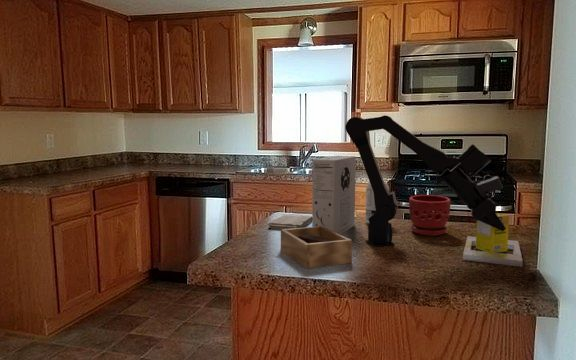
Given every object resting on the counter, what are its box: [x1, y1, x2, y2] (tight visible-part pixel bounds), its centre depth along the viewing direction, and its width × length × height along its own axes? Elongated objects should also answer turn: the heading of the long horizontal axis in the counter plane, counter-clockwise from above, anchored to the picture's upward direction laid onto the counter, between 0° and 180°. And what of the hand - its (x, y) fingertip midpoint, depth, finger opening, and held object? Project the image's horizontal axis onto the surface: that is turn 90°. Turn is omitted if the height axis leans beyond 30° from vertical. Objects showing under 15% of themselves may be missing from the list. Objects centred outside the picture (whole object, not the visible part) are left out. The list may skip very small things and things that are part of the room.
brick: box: [298, 234, 332, 244], centre depth 124 cm, size 11×4×5 cm, turn 47°
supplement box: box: [475, 212, 510, 254], centre depth 125 cm, size 6×6×11 cm
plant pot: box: [408, 194, 451, 236], centre depth 148 cm, size 13×13×12 cm
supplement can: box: [365, 181, 390, 225], centre depth 163 cm, size 8×8×15 cm
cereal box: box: [311, 155, 357, 235], centre depth 150 cm, size 22×8×25 cm, turn 154°
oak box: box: [280, 226, 353, 269], centre depth 121 cm, size 13×18×6 cm
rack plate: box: [462, 235, 524, 267], centre depth 125 cm, size 22×14×2 cm, turn 155°
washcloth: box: [267, 214, 312, 231], centre depth 161 cm, size 12×18×3 cm, turn 162°
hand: (502, 226), depth 124 cm, fingers closed on supplement box, 8 cm apart
